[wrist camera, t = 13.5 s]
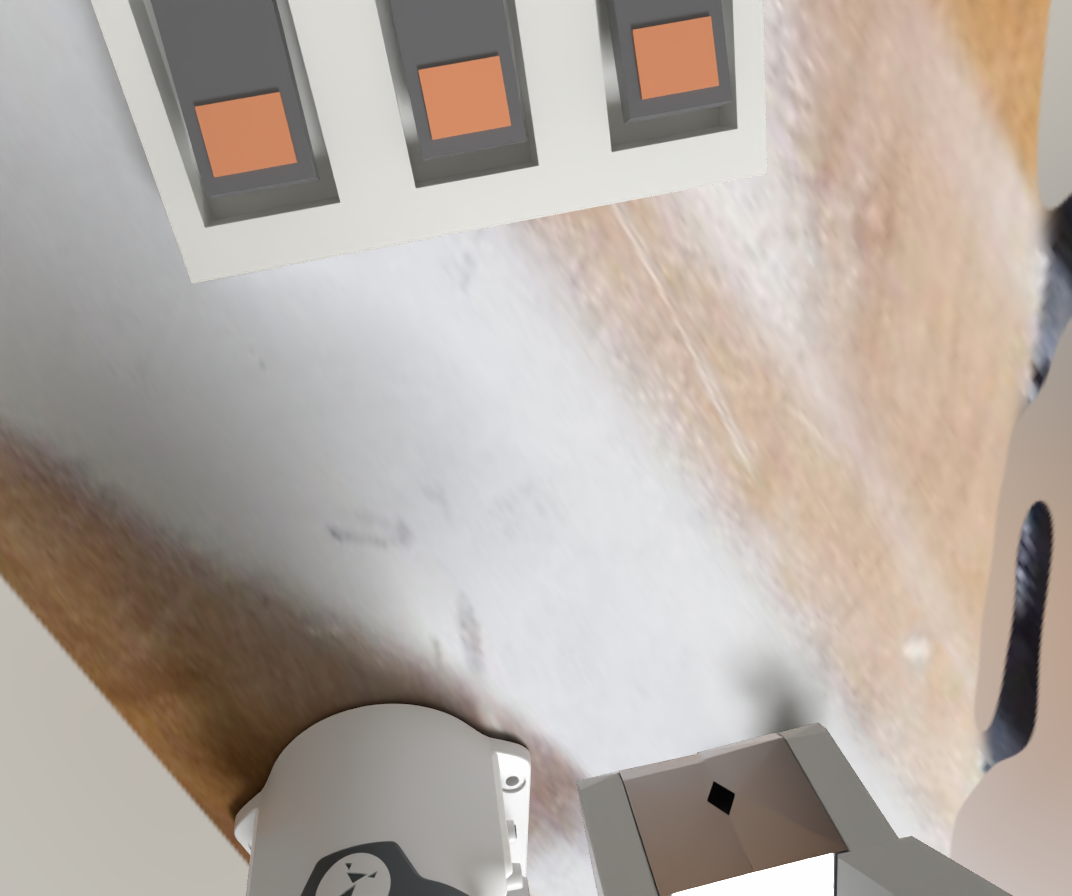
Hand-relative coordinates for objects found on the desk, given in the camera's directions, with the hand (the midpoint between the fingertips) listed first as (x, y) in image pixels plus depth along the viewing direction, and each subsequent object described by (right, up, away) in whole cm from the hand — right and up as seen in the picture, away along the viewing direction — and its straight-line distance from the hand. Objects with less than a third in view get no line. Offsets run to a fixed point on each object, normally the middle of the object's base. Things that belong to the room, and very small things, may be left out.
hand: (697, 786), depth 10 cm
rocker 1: (-13, +19, +18) cm, 30 cm away
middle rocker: (-5, +21, +19) cm, 29 cm away
